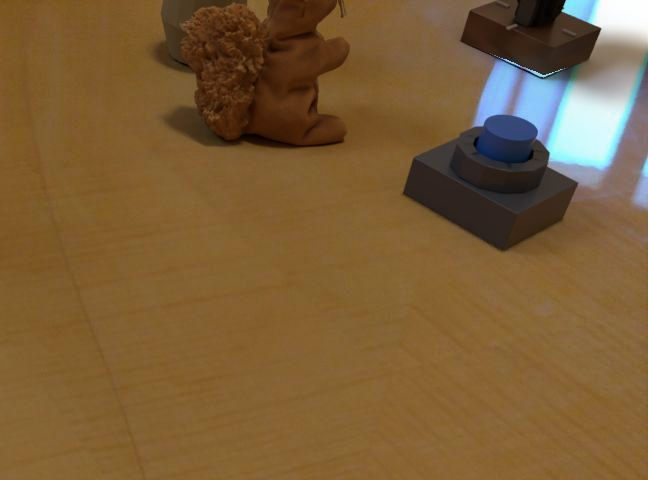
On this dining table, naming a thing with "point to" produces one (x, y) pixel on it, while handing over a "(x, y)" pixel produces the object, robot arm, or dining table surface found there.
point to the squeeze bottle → (184, 19)
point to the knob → (527, 12)
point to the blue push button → (507, 139)
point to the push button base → (490, 190)
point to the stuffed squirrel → (264, 70)
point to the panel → (530, 37)
